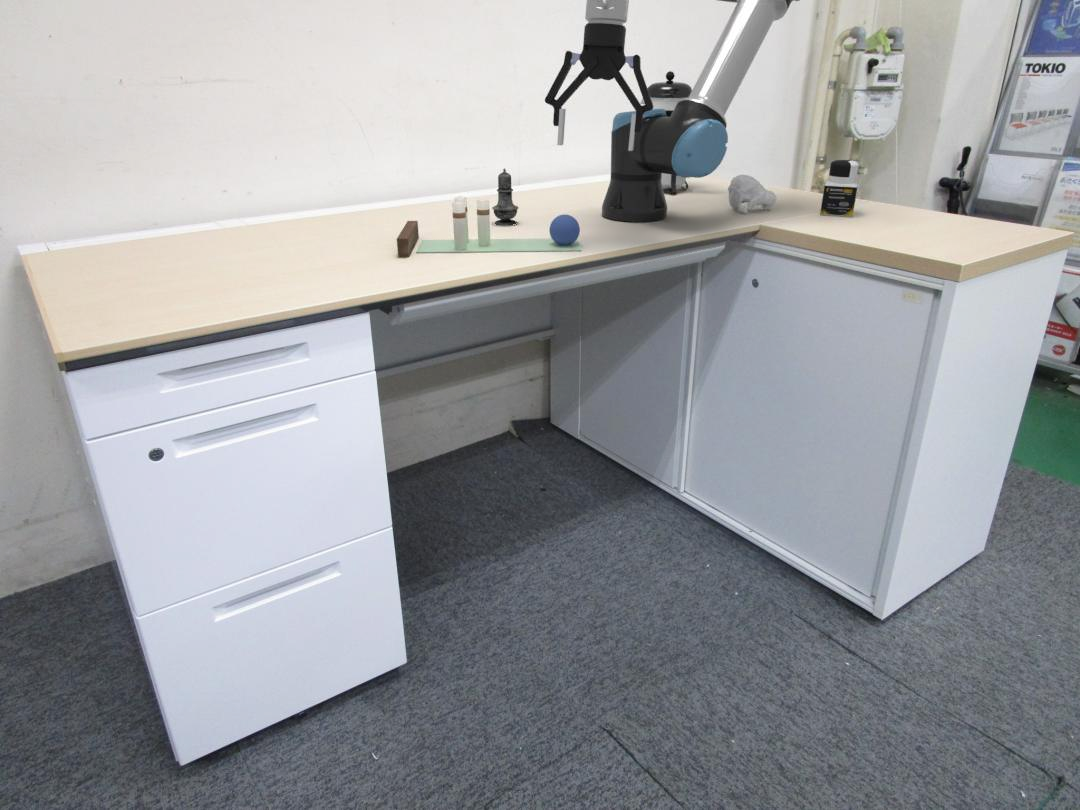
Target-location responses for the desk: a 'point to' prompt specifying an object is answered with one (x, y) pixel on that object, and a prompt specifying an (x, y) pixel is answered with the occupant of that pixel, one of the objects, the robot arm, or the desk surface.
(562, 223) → the ball
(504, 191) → the salt shaker
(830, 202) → the medicine bottle
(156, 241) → the desk surface
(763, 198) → the grey animal figurine
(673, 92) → the coffee press
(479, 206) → the pin front
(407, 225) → the backstop
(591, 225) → the desk surface
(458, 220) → the pin rear left
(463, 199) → the pin rear right
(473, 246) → the lane mark
